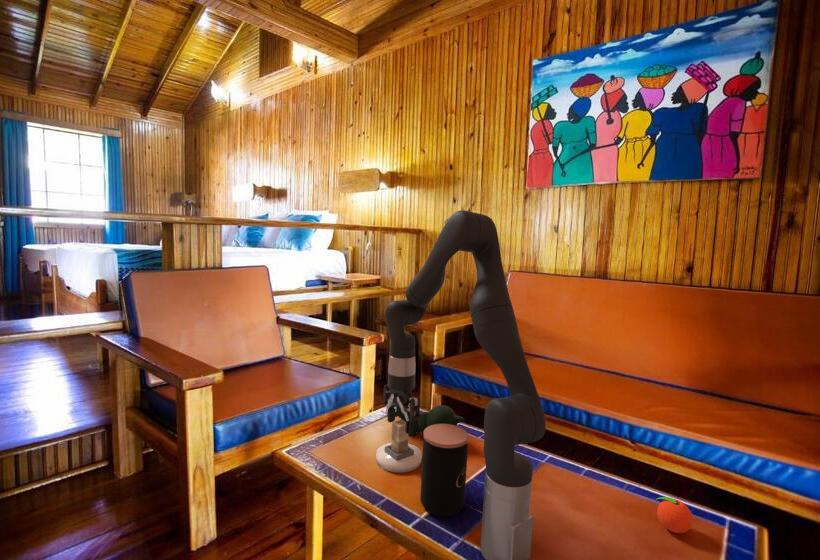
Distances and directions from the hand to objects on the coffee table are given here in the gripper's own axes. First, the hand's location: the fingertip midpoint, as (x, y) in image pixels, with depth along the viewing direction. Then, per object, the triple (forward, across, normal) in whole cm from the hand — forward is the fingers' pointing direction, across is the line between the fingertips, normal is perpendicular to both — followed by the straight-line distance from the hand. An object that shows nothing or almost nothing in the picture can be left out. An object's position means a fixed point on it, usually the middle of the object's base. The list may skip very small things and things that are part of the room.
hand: (399, 426), depth 122 cm
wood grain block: (+8, 0, 0) cm, 8 cm away
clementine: (+11, -58, -35) cm, 68 cm away
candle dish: (+10, 0, 0) cm, 10 cm away
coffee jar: (+11, -22, +3) cm, 24 cm away
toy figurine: (+10, +7, -16) cm, 21 cm away
